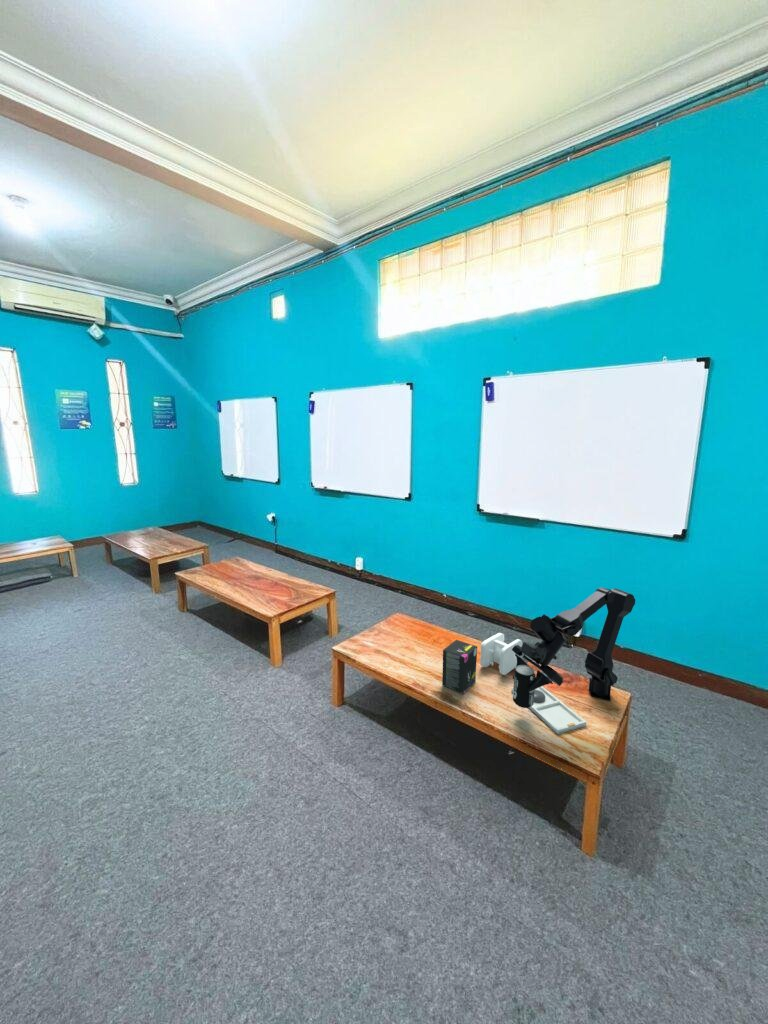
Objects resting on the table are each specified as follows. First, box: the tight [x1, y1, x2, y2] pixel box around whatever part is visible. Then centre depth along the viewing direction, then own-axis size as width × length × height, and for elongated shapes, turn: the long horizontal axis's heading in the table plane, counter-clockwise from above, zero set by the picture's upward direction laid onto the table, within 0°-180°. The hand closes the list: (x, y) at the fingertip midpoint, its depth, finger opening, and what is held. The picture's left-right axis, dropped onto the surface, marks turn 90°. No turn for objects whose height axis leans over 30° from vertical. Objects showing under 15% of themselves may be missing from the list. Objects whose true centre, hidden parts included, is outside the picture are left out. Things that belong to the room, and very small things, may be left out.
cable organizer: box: [479, 632, 523, 676], centre depth 163 cm, size 15×11×12 cm
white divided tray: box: [511, 686, 587, 735], centre depth 138 cm, size 12×23×2 cm, turn 19°
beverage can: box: [512, 665, 536, 709], centre depth 131 cm, size 7×7×12 cm
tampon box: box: [441, 639, 478, 695], centre depth 151 cm, size 11×9×15 cm
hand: (520, 684), depth 131 cm, fingers closed on beverage can, 7 cm apart
